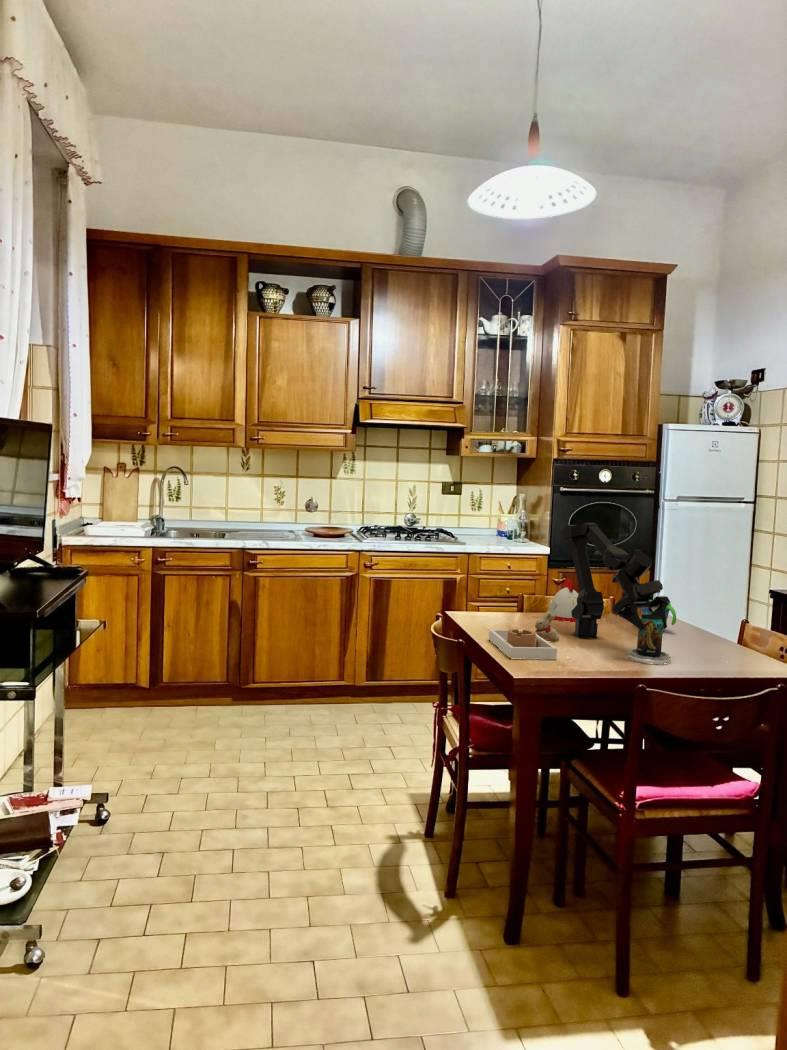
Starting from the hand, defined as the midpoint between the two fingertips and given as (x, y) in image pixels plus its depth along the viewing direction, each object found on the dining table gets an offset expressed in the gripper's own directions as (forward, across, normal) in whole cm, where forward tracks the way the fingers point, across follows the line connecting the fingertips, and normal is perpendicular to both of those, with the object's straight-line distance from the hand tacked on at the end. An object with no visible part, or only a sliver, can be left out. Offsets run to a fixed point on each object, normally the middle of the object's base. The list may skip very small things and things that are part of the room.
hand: (654, 628), depth 231 cm
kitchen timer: (-35, +16, +50) cm, 63 cm away
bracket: (-8, -32, +23) cm, 40 cm away
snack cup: (-17, +35, +31) cm, 50 cm away
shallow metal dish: (+6, 0, +8) cm, 10 cm away
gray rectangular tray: (-9, -32, +23) cm, 40 cm away
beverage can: (+5, 0, +7) cm, 9 cm away
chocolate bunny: (-15, -16, +29) cm, 36 cm away
